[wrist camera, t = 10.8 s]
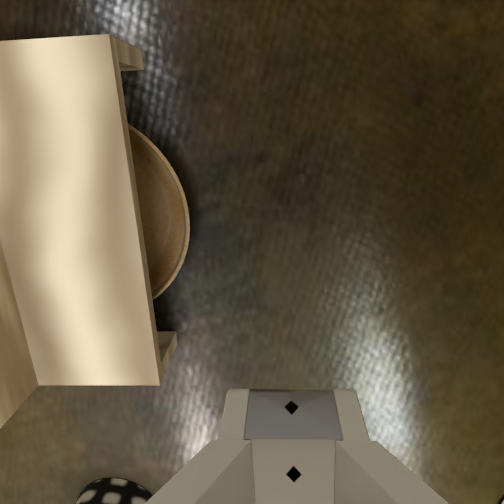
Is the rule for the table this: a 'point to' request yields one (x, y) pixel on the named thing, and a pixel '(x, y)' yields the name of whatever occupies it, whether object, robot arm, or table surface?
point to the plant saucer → (160, 212)
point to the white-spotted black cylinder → (113, 492)
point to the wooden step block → (71, 223)
